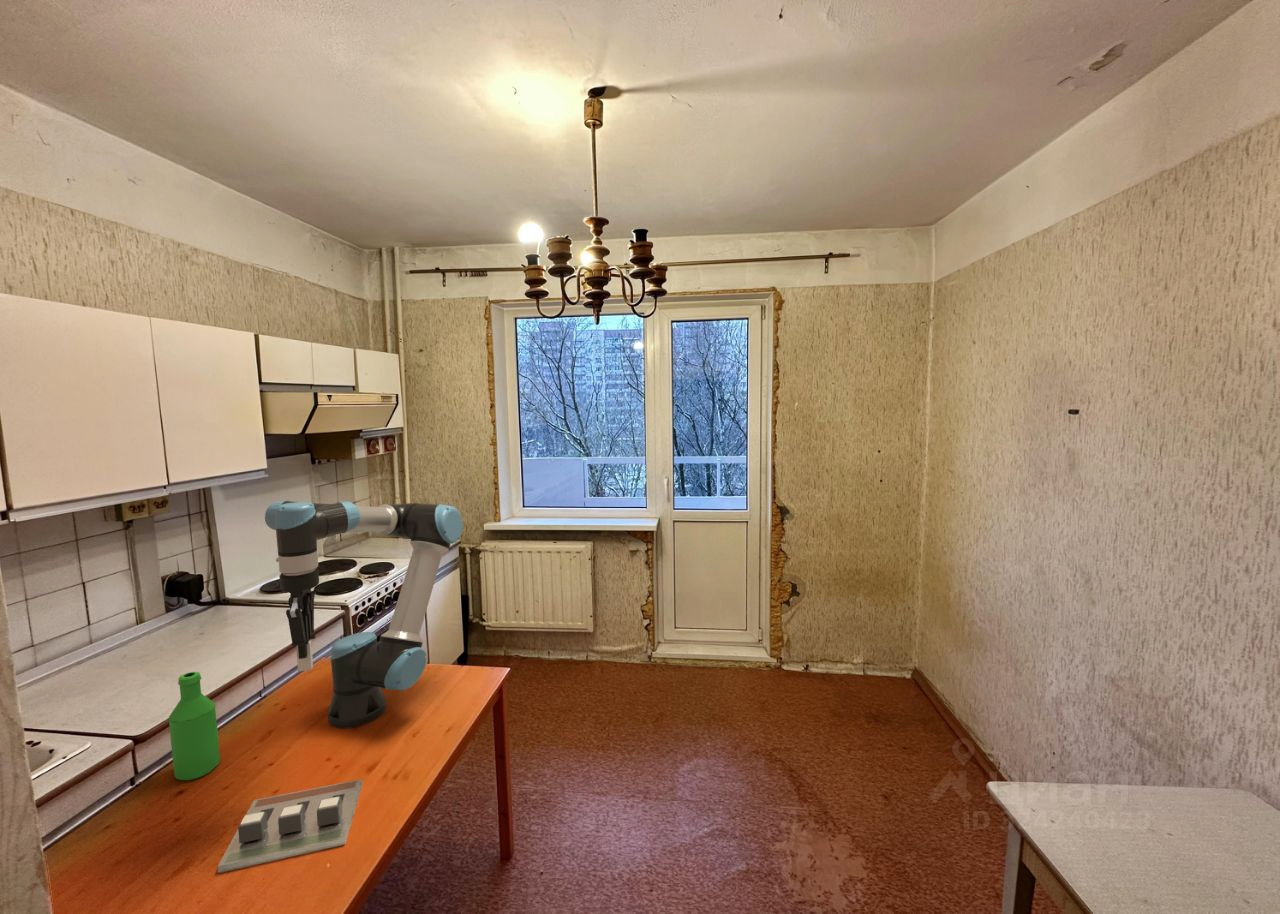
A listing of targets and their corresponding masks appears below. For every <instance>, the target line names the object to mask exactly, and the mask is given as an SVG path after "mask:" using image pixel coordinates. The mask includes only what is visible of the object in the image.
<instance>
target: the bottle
mask: <svg viewBox="0 0 1280 914" xmlns="http://www.w3.org/2000/svg"><path fill="white" fill-rule="evenodd" d="M201 680H202V676H201V673H200V672H199V671H191V672H189V671H188V672H186V673H184V674H182V675H180V676H179V677H178V681H177V685H178V686H179V692H180V693H179V694H180V700H179V701H178V703H177V704H176V706H175V707H174V708H173V710H172V712H171V713H170V714H169V716H168V724H169V735H170V744H171V745H170V746H171V747H170V748H171V755H172V768H173V775H174V776H173V777H174V778H175V779H176V780H180V781H192V780H196V779H198V778H202V777H204V776H206V775H208V774H209V773H211V772H212V771H213V770H214V769H216V767H217V766H218V765H219V764H220V761H221V757H220V755H221V754H220V743H219V742H220V741H219V731H218V730H219V729H218V721H217V713H216V712H217V711H216V704H215V702H214V701H213V700H211V699H210V698H208V697H207V696H206V695H204V694H202V688H201V686H202V685H201Z"/></svg>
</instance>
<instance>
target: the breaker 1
mask: <svg viewBox="0 0 1280 914" xmlns="http://www.w3.org/2000/svg"><path fill="white" fill-rule="evenodd" d="M267 828H268V824H267V812H260V813H255V814H250V815H246V814H245V815H244V816H243V818H242V820H241V821H240V824H239V825H238V827H237V830H238V833H239V843H244V842H248V841H253V840H258V839H262V838H263V836H264V834H265V832H266V830H267Z"/></svg>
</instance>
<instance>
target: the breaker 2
mask: <svg viewBox="0 0 1280 914" xmlns="http://www.w3.org/2000/svg"><path fill="white" fill-rule="evenodd" d="M305 820H306V818H305V805H302V804H301V805H296V806H291V807H286V808H284V809H283V810H282V812H281V814H280V816H279V819H278V826H279V835H282V834H287V833H291V832H296V831H301V830H302V827H303V825H304V822H305Z"/></svg>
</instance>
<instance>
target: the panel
mask: <svg viewBox="0 0 1280 914" xmlns="http://www.w3.org/2000/svg"><path fill="white" fill-rule="evenodd" d="M362 786H363V779H362V778H361V779H355V780H349V781H345V782H339V783H334V784H330V785H325V786H318V787H315V788H309V789H303V790H298V791H294V792H293V791H292V792H289V793H282V794H277V795H273V796H267V797H263V798H256V799H253V802H252V803H251V804H250V807H249V808H248V810H247V812H246V814H245V815H250V814H255V813H260V812H267V824H268V828H267V830H266V832H265V834H264V836H263V838H262V839H258V840H253V841H248V842H244V843H239V833H238V829H237V830H236V832H235V833H234V835H233V837H232V839H231V841H230V842H229V844H228V847H227V848H226V850H225V852H224V854H223V856H222V857H221V860H220V862H219V863H218V865H217V874H222V873H225V872H230V871H234V870H238V869H243V868H248V867H253V866H257V865H260V864H265V863H270V862H275V861H278V860H283V859H287V858H291V857H297V856H301V855H302V856H303V855H305V854H309V853H313V852H314V853H315V852H319V851H325V850H327V849H332V848H336V847H341V846H346V842H347V840H348V836H349V832H350V830H351V825H352V823H353V818H354V815H355V811H356V808H357V805H358V801H359V798H360V794H361V791H362ZM334 797H341V799H342V814H341V817H340V820H339V822H337V823H332V824H328V825H323V826H318V823H317V809H318V807H319V804H320V801H321V800H324V799H329V798H334ZM301 804H302V805H305V818H306V820H305V822H304V825H303V827H302V830H301V831H296V832H291V833H287V834H282V835H279V826H278V819H279V816H280V814H281V812H282V810H283V809H284V808H286V807H291V806H296V805H301Z"/></svg>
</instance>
